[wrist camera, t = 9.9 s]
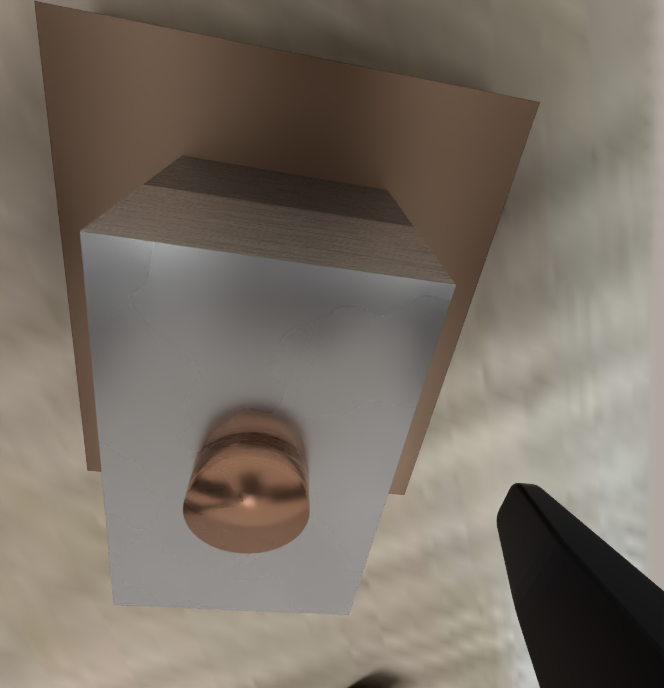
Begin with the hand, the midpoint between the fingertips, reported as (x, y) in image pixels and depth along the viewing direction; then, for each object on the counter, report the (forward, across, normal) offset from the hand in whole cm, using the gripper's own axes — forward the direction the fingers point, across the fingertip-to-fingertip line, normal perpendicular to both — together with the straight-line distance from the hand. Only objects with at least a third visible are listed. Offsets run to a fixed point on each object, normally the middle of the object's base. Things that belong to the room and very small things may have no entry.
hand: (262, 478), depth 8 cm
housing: (+6, 0, 0) cm, 6 cm away
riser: (+9, 0, 0) cm, 9 cm away
